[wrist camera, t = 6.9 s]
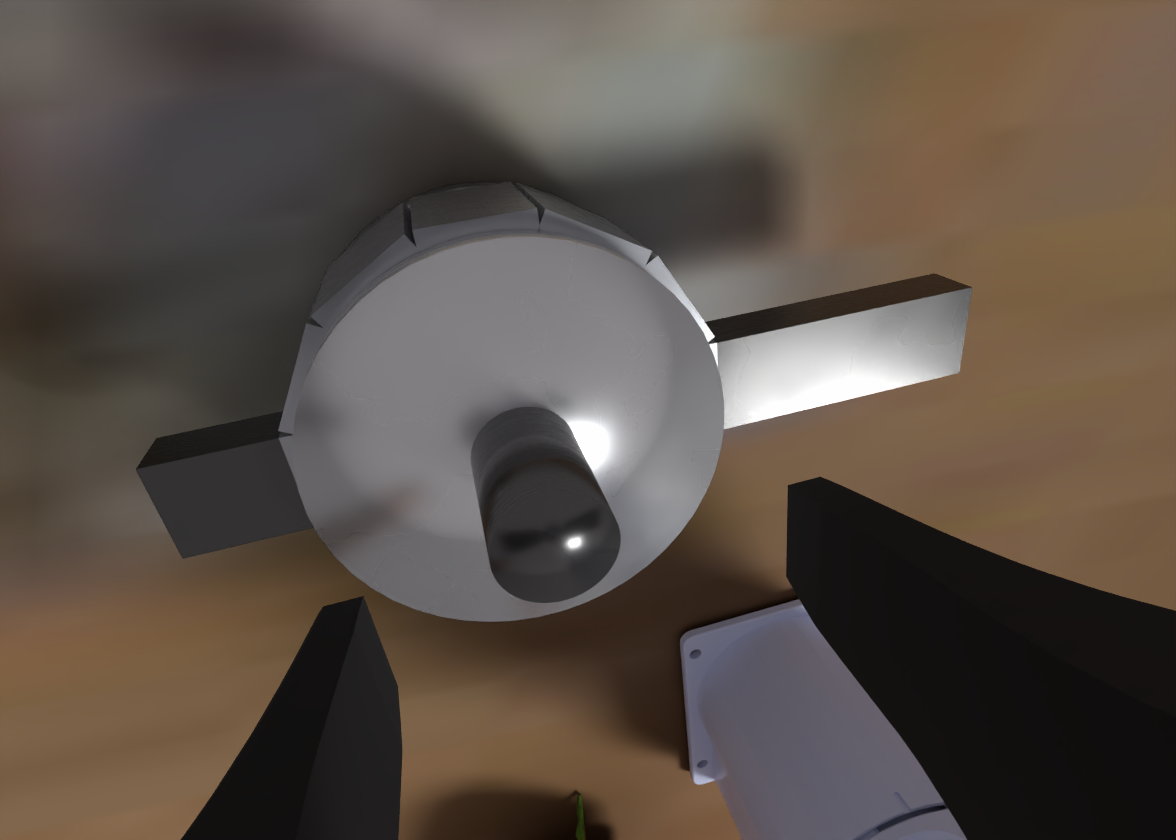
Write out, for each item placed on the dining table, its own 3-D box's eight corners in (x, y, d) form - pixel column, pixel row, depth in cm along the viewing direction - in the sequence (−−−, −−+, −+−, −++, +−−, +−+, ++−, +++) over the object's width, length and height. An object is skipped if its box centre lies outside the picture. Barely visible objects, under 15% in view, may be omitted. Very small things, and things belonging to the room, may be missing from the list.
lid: (688, 542, 20) (775, 682, 15) (348, 605, 18) (330, 787, 13) (704, 204, 15) (833, 257, 11) (254, 239, 14) (180, 324, 9)
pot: (846, 416, 24) (943, 489, 20) (274, 555, 21) (243, 678, 17) (867, 115, 20) (1000, 126, 15) (134, 237, 16) (40, 295, 12)
